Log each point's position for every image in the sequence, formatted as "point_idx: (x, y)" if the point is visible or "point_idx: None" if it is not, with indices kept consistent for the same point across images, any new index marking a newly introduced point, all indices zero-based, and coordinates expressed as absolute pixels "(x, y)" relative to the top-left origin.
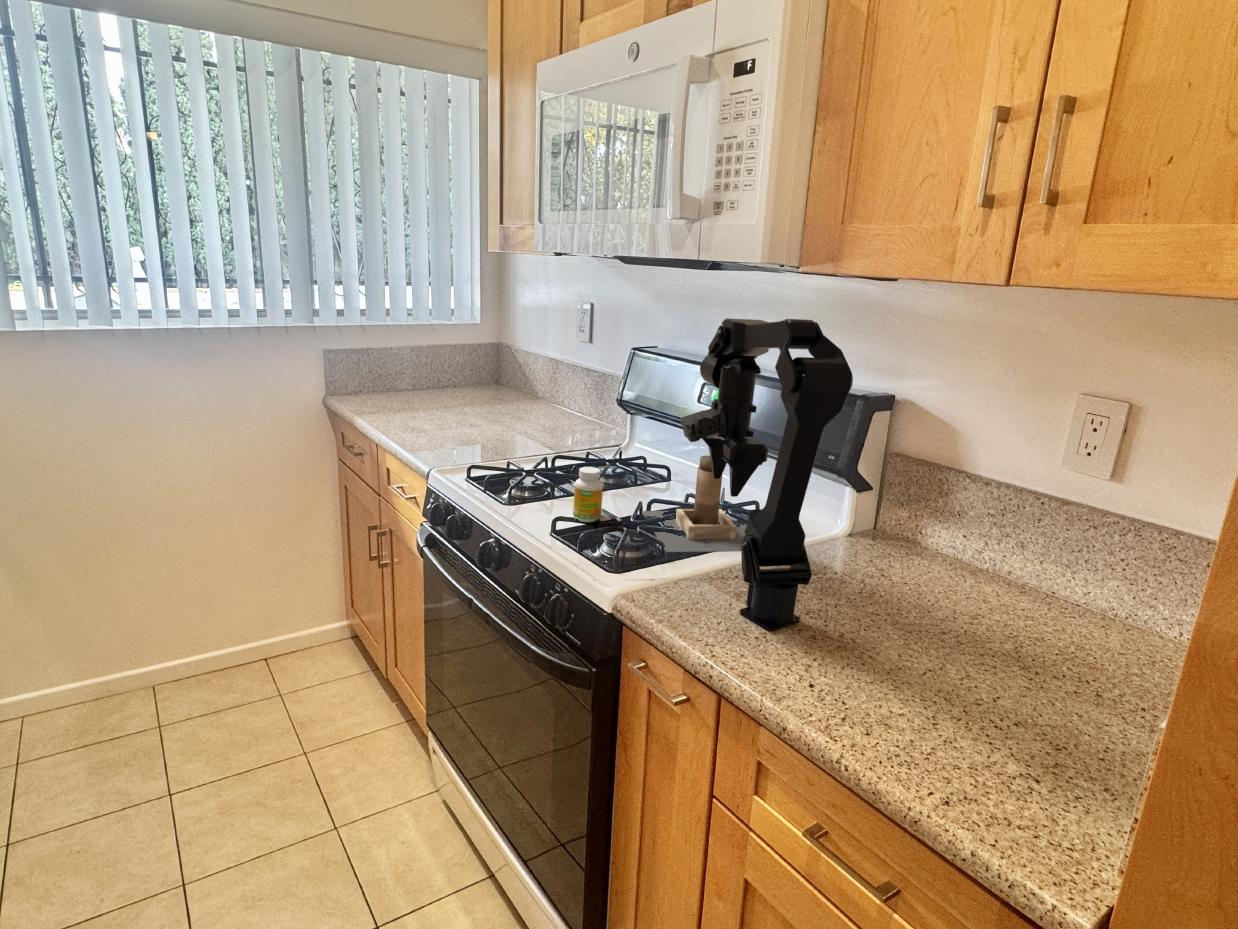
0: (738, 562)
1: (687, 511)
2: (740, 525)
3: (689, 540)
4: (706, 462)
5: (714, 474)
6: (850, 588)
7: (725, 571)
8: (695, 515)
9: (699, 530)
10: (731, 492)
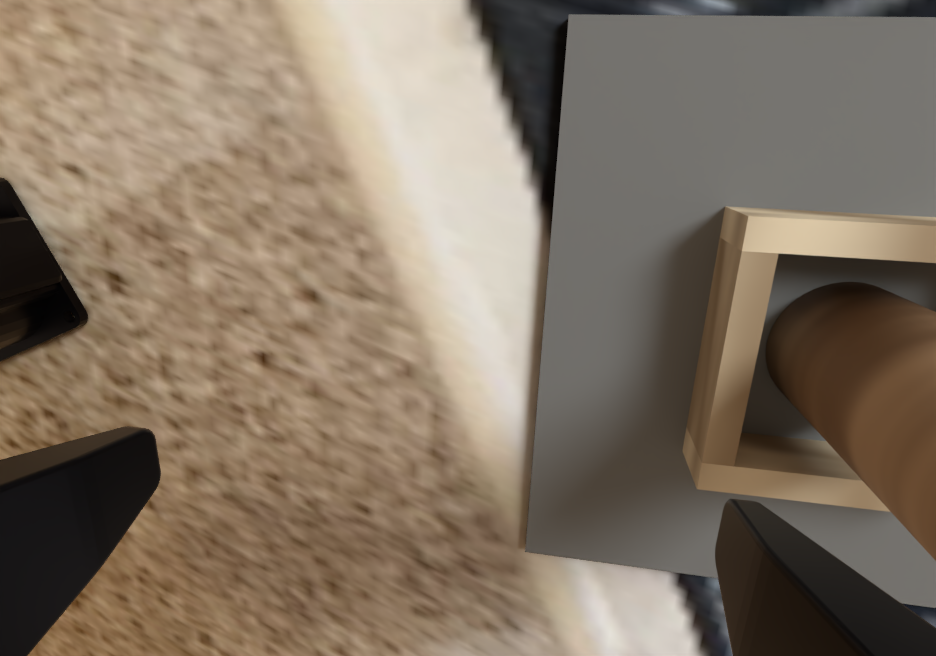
0: (448, 362)
1: None
2: (847, 549)
3: (707, 210)
4: None
5: (739, 526)
6: (232, 630)
7: (360, 268)
8: (887, 308)
9: (729, 279)
10: (80, 438)
